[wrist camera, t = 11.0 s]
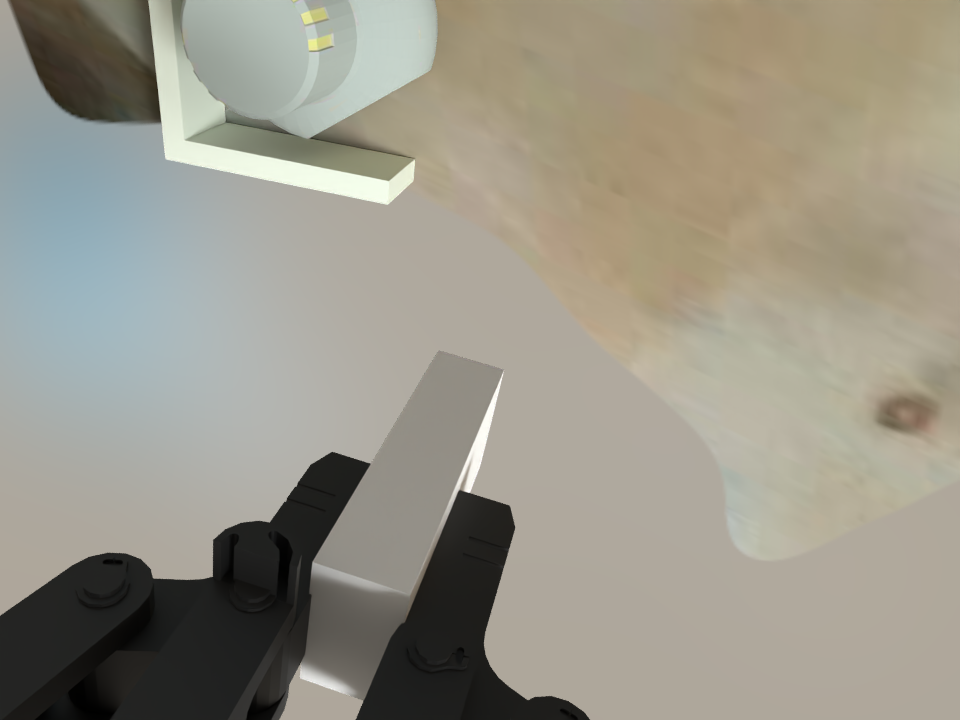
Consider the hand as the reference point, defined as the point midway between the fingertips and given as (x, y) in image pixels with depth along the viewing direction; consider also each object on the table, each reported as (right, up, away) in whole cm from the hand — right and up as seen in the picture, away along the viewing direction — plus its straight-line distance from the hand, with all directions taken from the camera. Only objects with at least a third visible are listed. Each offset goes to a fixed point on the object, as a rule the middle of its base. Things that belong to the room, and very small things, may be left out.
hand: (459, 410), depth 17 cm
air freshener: (-6, +18, +21) cm, 28 cm away
